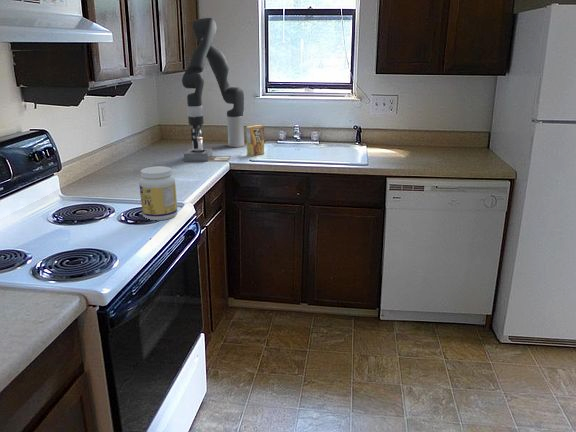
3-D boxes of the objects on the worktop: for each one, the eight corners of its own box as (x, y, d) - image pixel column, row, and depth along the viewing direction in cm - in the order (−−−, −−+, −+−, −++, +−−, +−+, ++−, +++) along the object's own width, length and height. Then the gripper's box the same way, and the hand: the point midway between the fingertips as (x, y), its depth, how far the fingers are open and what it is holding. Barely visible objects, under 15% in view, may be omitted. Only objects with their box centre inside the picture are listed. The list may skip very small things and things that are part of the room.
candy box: (260, 152, 284) (259, 124, 279) (264, 153, 281) (264, 125, 276) (246, 155, 279) (245, 126, 274) (251, 156, 276) (250, 127, 271)
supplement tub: (135, 217, 184) (130, 170, 178) (163, 208, 193) (158, 163, 187) (157, 224, 177) (152, 175, 171) (185, 214, 186) (181, 168, 180)
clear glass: (194, 157, 270) (193, 136, 266) (204, 157, 270) (203, 136, 266) (192, 159, 265) (190, 138, 261) (202, 159, 265) (201, 138, 261)
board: (190, 157, 274) (190, 155, 274) (231, 157, 273) (231, 155, 272) (184, 163, 262) (184, 161, 261) (227, 163, 261) (227, 161, 260)
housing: (189, 156, 273) (189, 148, 272) (212, 156, 273) (211, 148, 271) (184, 161, 262) (183, 153, 261) (208, 161, 261) (207, 153, 260)
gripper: (191, 113, 267) (193, 144, 272) (184, 117, 253) (187, 149, 259) (205, 112, 266) (207, 144, 272) (200, 116, 253) (202, 149, 258)
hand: (197, 147), depth 265 cm, fingers open, 8 cm apart
